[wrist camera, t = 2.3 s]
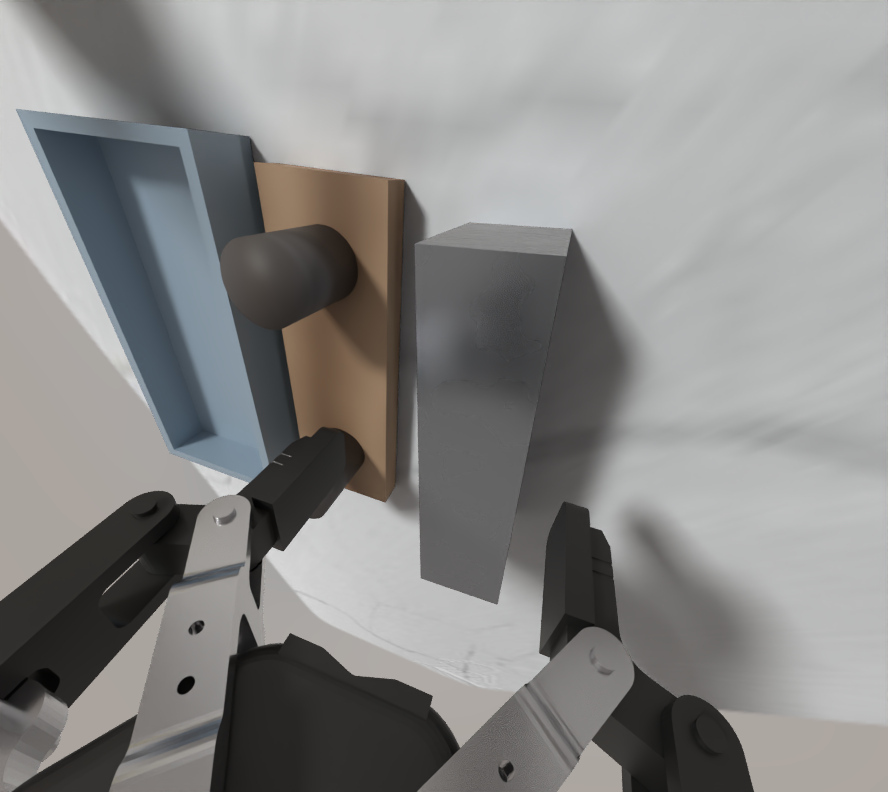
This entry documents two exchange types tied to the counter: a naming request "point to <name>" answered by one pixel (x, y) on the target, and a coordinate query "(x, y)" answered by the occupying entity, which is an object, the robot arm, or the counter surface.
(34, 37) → the counter surface
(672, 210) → the counter surface
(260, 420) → the slot tray
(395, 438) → the peg rack
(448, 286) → the steel bar
